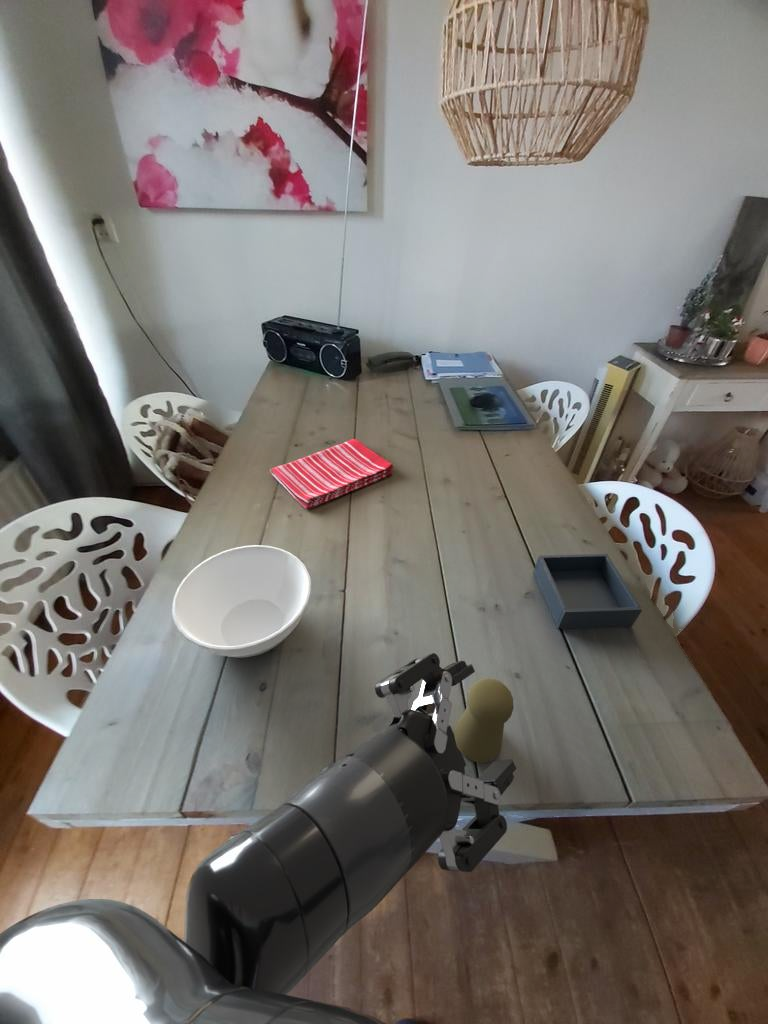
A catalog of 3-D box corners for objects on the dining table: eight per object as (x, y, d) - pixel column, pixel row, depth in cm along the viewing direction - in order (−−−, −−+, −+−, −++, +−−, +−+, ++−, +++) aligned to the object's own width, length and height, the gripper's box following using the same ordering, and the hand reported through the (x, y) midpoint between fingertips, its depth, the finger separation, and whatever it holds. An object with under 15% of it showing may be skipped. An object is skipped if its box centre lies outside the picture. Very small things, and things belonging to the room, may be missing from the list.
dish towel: (396, 474, 102) (396, 464, 100) (307, 512, 91) (306, 502, 89) (354, 443, 112) (354, 434, 111) (269, 474, 101) (268, 464, 99)
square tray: (632, 626, 70) (642, 609, 67) (557, 629, 70) (565, 612, 67) (598, 570, 80) (607, 553, 77) (533, 572, 79) (538, 555, 76)
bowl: (160, 638, 67) (142, 604, 62) (256, 563, 79) (248, 529, 74) (249, 710, 58) (237, 677, 53) (340, 613, 71) (338, 578, 66)
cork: (506, 763, 54) (526, 721, 47) (456, 762, 54) (469, 720, 47) (496, 715, 59) (513, 670, 52) (451, 713, 59) (462, 668, 52)
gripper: (451, 958, 24) (559, 794, 36) (358, 699, 28) (484, 629, 40) (366, 937, 29) (486, 798, 41) (295, 717, 32) (425, 649, 44)
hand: (485, 715), depth 40 cm, fingers open, 8 cm apart
